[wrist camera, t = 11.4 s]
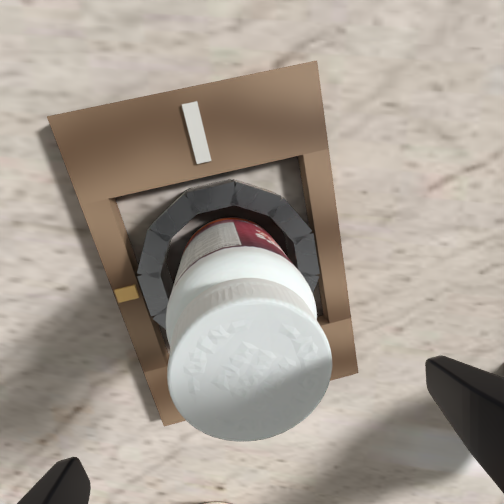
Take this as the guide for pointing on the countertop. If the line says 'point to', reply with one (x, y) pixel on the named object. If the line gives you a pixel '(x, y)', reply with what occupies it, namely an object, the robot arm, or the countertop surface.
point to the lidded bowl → (217, 503)
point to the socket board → (207, 193)
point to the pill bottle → (243, 335)
